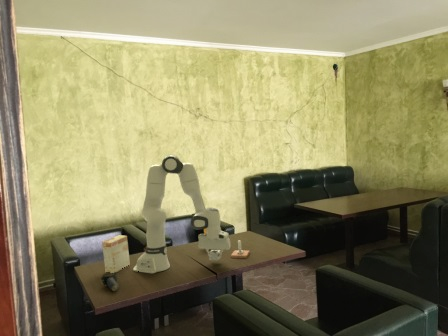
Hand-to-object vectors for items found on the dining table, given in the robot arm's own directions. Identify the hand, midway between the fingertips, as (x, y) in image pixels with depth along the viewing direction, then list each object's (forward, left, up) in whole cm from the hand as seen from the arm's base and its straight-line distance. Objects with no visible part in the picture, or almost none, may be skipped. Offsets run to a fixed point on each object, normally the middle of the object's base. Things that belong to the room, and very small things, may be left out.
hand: (214, 256), depth 228 cm
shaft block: (+12, +15, -5) cm, 20 cm away
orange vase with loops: (-14, +27, -5) cm, 31 cm away
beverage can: (-46, -41, -5) cm, 62 cm away
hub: (0, 0, -2) cm, 2 cm away
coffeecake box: (-60, -15, -5) cm, 62 cm away
